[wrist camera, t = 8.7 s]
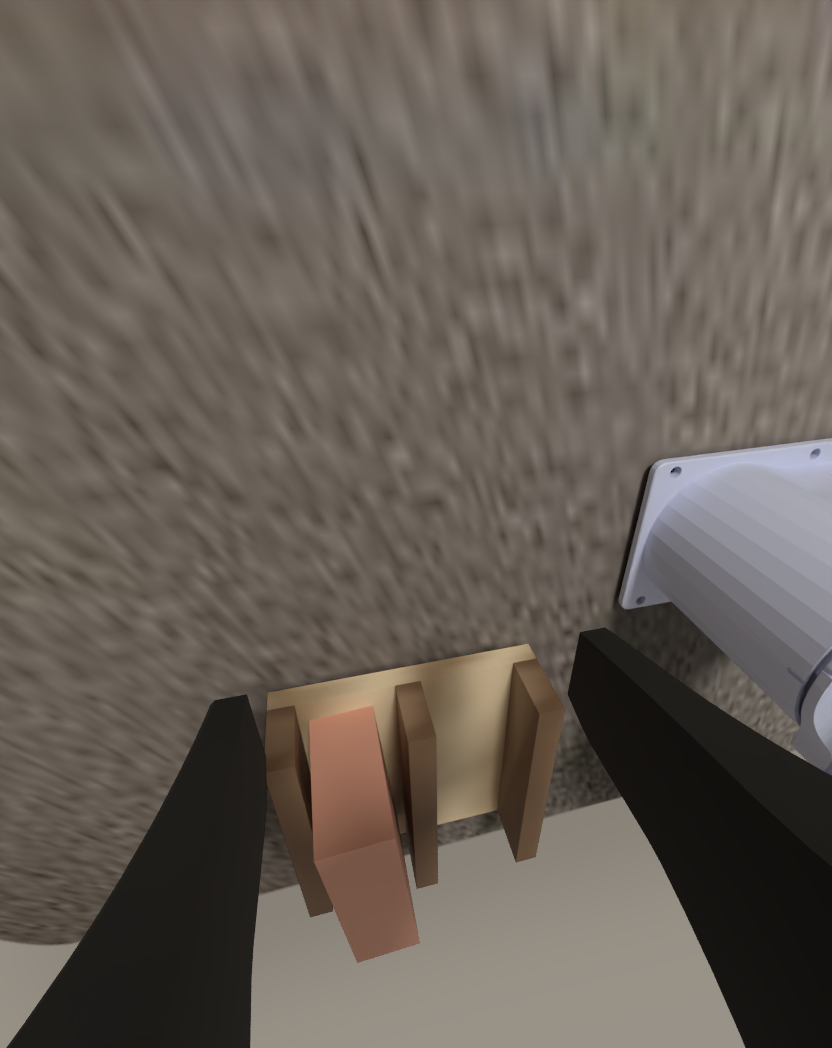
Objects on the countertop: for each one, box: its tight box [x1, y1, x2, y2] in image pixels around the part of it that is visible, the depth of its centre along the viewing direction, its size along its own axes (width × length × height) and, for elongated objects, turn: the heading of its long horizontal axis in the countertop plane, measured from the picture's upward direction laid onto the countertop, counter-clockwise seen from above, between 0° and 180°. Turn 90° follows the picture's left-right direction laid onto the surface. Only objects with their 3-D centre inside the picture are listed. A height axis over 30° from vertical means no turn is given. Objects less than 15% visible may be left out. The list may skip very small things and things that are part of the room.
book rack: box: [265, 644, 565, 917], centre depth 25 cm, size 13×13×4 cm
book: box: [309, 705, 420, 963], centre depth 23 cm, size 3×10×6 cm, turn 6°
